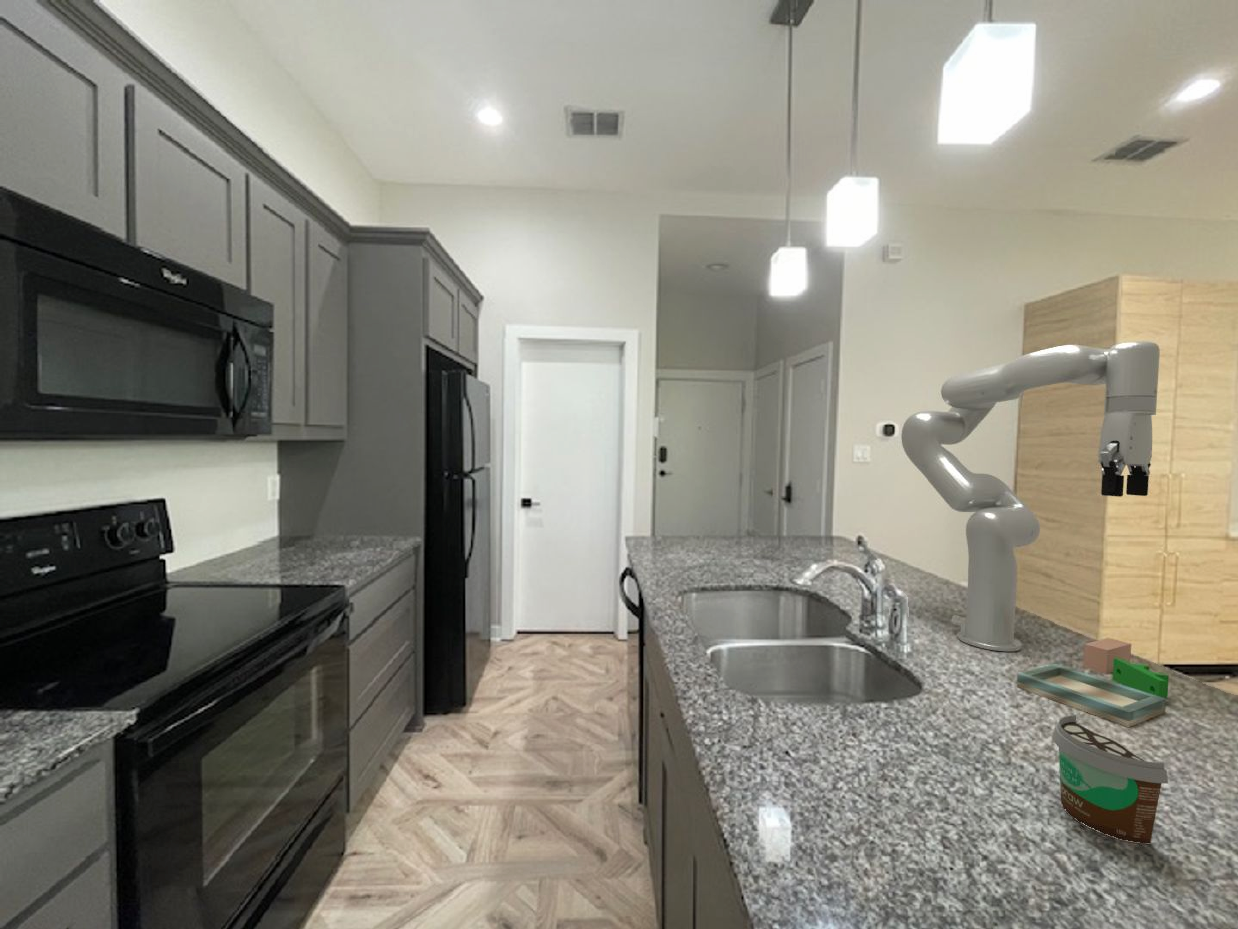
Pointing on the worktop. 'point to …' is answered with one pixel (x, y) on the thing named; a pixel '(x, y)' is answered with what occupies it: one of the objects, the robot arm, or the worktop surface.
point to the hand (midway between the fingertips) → (1124, 495)
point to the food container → (1107, 783)
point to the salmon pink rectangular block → (1105, 654)
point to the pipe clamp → (1140, 678)
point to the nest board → (1092, 694)
